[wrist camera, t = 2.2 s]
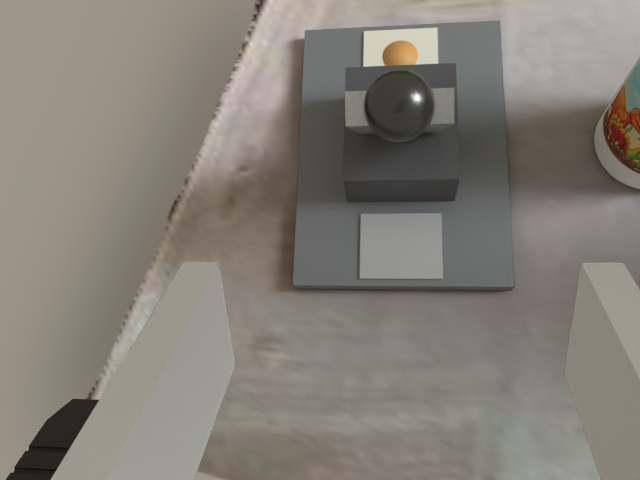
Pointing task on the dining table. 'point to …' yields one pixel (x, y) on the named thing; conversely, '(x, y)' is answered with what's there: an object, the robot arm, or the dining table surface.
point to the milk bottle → (622, 132)
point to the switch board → (476, 166)
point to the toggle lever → (399, 107)
